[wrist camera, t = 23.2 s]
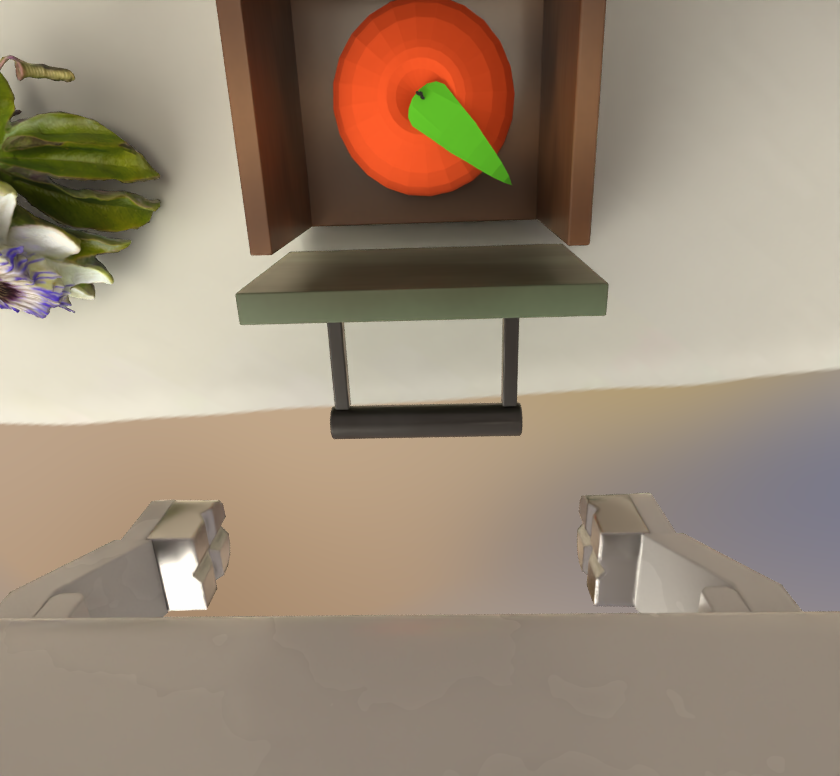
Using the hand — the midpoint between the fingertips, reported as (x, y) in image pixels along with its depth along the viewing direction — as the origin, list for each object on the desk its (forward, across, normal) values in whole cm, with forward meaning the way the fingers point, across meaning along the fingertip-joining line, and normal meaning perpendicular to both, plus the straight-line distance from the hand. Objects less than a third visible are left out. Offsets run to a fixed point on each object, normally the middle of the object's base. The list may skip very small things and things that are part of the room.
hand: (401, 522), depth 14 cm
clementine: (+18, -1, -9) cm, 20 cm away
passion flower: (+20, +19, -6) cm, 28 cm away
